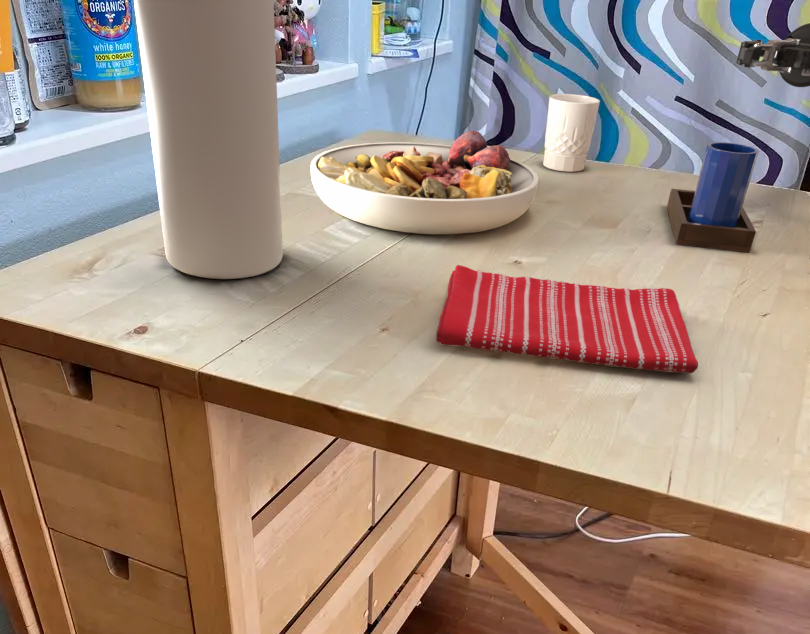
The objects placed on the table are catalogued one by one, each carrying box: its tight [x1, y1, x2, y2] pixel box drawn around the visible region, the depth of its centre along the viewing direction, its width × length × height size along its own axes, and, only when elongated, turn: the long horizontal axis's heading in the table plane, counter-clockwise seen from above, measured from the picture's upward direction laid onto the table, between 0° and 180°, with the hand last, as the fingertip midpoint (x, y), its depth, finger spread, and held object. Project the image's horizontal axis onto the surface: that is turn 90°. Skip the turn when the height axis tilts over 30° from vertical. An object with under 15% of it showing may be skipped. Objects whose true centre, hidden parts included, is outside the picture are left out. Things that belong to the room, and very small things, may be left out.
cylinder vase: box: [133, 0, 284, 280], centre depth 81 cm, size 12×12×25 cm
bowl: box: [310, 130, 540, 235], centre depth 107 cm, size 30×30×8 cm
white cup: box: [542, 93, 601, 173], centre depth 129 cm, size 8×8×10 cm
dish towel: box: [436, 264, 699, 374], centre depth 78 cm, size 17×24×3 cm
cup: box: [687, 141, 759, 228], centre depth 102 cm, size 6×6×10 cm
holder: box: [666, 188, 757, 253], centre depth 108 cm, size 9×17×3 cm, turn 169°
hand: (783, 61), depth 101 cm, fingers open, 8 cm apart
